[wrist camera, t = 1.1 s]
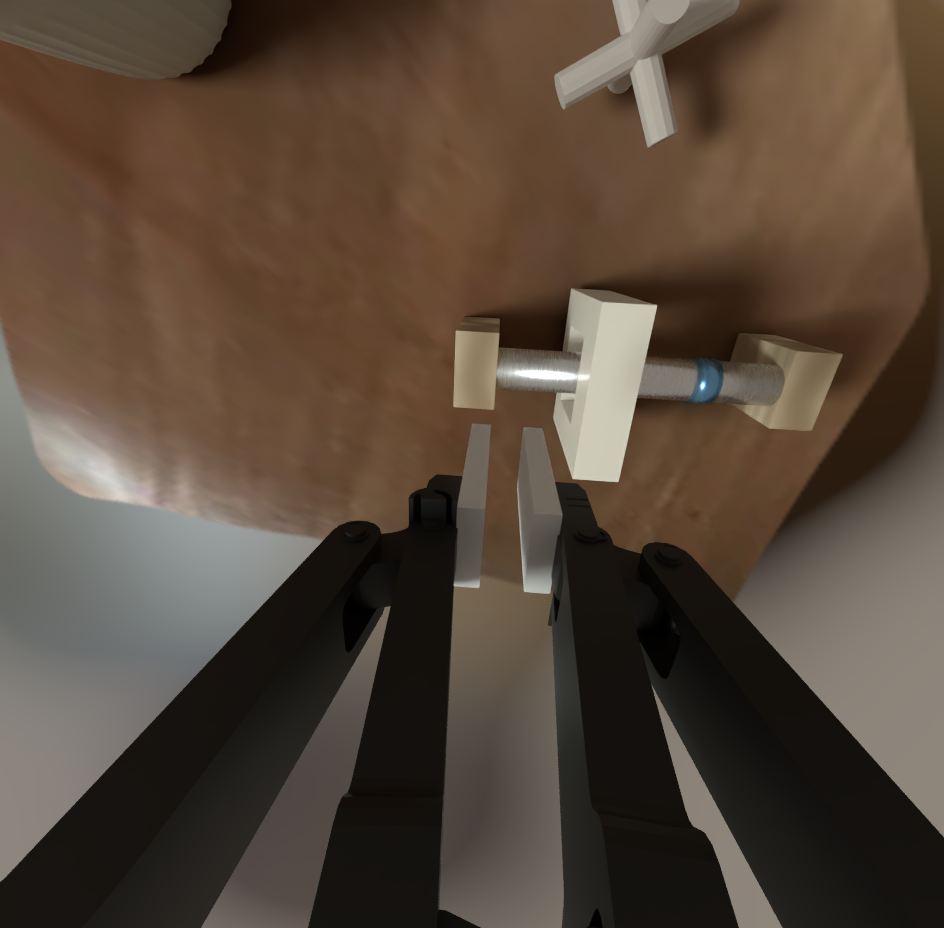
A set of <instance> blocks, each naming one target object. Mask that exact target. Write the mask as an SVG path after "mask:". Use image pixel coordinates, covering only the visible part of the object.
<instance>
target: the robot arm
mask: <svg viewBox="0 0 944 928" xmlns="http://www.w3.org/2000/svg"><path fill="white" fill-rule="evenodd" d="M490 430H491V425H484V424H472V428H471V433H470V439H469V444H468V450H467V455H466V461H465V466H464V472H463V476H451V475H438V474H437V475H436V476H434V477H433V478H432V479H431V480H429V482H428V485H427V488H424V489H420V490H417V491H415V492H414V493H412V494H411V495H410V497H409V527H408V528H406V529H404V530H401V531H398V532H393V533H386V534H381V531H380V528H379V527H378V526H377V525H375V524H374V523H371V522H368V521H351V522H347V523H345V524H342V525H339V526H338V527H337V528H335V529H334V530H333V531H332V532H331V533H330V534H329V535H328V536H327V537H326V538H325V539H324V540H323V542H322V543H321V544H320V545H319V546H318V547H317V548H316V549H315V550H314V551H313V552H312V553H311V554H310V555H309V557H307V558H306V560H305V561H304V562H303V563H302V564H301V565H300V566H299V567H298V568H297V569H296V570H295V571H294V572H293V573H292V574H291V575H290V576H289V578H288V579H287V580H286V581H285V582H284V583H283V584H282V585H281V586H280V587H279V588H278V589H277V590H276V591H275V593H274V594H273V595H272V596H271V597H270V598H269V599H268V600H267V601H266V602H265V603H264V604H263V605H262V606H261V607H260V608H259V609H258V610H257V612H256V613H255V614H254V615H253V616H252V617H251V618H250V619H249V620H248V621H247V622H246V623H245V624H244V625H243V626H242V627H241V628H240V629H239V631H238V632H237V633H236V634H235V635H234V636H233V637H232V638H231V639H230V640H229V641H228V642H227V643H226V644H225V645H224V646H223V648H222V649H221V650H220V651H219V652H218V653H217V654H216V655H215V656H214V657H213V658H212V659H211V660H210V661H209V662H208V663H207V664H206V666H205V667H204V668H203V669H202V670H201V671H200V672H199V673H198V674H197V675H196V676H195V677H194V678H193V679H192V680H191V681H190V683H189V684H188V685H187V686H186V687H185V688H184V689H183V690H182V691H181V692H180V693H179V694H178V695H177V696H176V697H175V698H174V700H173V701H172V702H171V703H170V704H169V705H168V706H167V707H166V708H165V709H164V710H163V711H162V712H161V713H160V714H159V715H158V717H156V719H155V720H154V721H153V722H152V723H151V724H150V725H149V726H148V727H147V728H146V729H145V730H144V731H143V732H142V733H141V734H140V735H139V737H138V738H137V739H136V740H135V741H134V742H133V743H132V744H131V745H130V746H129V747H128V748H127V749H126V750H125V751H124V753H123V754H122V755H121V756H120V757H119V758H118V759H117V760H116V761H115V762H114V763H113V764H112V765H111V766H110V767H109V768H108V769H107V770H106V772H105V773H104V774H103V775H102V776H101V777H100V778H99V779H98V780H97V781H96V782H95V783H94V784H93V785H92V786H91V787H90V788H89V790H88V791H87V792H86V793H85V794H84V795H83V796H82V797H81V798H80V799H79V800H78V801H77V802H76V803H75V805H73V807H72V808H71V809H70V810H69V811H68V812H67V813H66V814H65V815H64V816H63V817H62V818H61V819H60V820H59V821H58V822H57V823H56V825H55V826H54V827H53V828H52V829H51V830H50V831H49V832H48V833H47V834H46V835H45V836H44V837H43V838H42V840H40V842H39V843H38V844H37V845H36V846H35V847H34V848H33V849H32V850H31V851H30V852H29V853H28V854H27V855H26V856H25V857H24V858H23V860H22V861H21V862H20V863H19V864H18V865H17V866H16V867H15V868H14V869H13V870H12V871H11V872H10V873H9V874H8V875H7V877H6V878H5V879H3V880H2V881H1V882H0V928H201V927H202V925H203V923H204V921H205V920H206V918H207V916H208V915H209V913H210V911H211V909H212V908H213V906H214V904H215V902H216V901H217V899H218V897H219V896H220V894H221V892H222V890H223V889H224V887H225V885H226V883H227V882H228V880H229V878H230V876H231V875H232V873H233V871H234V869H235V868H236V866H237V864H238V863H239V861H240V859H241V858H242V856H243V854H244V852H245V851H246V849H247V847H248V845H249V844H250V842H251V840H252V838H253V837H254V835H255V833H256V831H257V830H258V828H259V826H260V825H261V823H262V821H263V819H264V818H265V816H266V814H267V812H268V811H269V809H270V807H271V806H272V804H273V802H274V800H275V799H276V797H277V795H278V794H279V792H280V790H281V788H282V786H283V785H284V783H285V781H286V780H287V778H288V776H289V774H290V773H291V771H292V769H293V768H294V766H295V764H296V762H297V761H298V759H299V757H300V756H301V754H302V752H303V750H304V748H305V747H306V745H307V743H308V742H309V740H310V738H311V737H312V735H313V733H314V731H315V729H316V728H317V726H318V724H319V723H320V721H321V719H322V717H323V716H324V714H325V712H326V710H327V708H328V707H329V705H330V704H331V702H332V700H333V698H334V697H335V695H336V693H337V691H338V690H339V688H340V686H341V685H342V683H343V681H344V679H345V678H346V676H347V674H348V672H349V671H350V669H351V667H352V666H353V664H354V662H355V660H356V659H357V657H358V655H359V654H360V652H361V650H362V648H363V647H364V645H365V643H366V641H367V640H368V638H369V636H370V635H371V633H372V631H373V629H374V628H375V626H376V624H377V622H378V621H379V619H380V617H381V615H382V614H383V611H384V607H387V606H391V607H390V612H389V617H388V621H387V625H386V630H385V634H384V639H383V643H382V648H381V652H380V657H379V661H378V666H377V670H376V674H375V679H374V683H373V688H372V692H371V697H370V701H369V706H368V710H367V715H366V719H365V724H364V728H363V733H362V737H361V742H360V746H359V750H358V755H357V759H356V764H355V769H354V773H353V778H352V781H351V785H350V788H349V790H348V793H346V794H345V795H344V796H342V798H341V801H340V803H339V805H338V809H337V812H336V815H335V819H334V822H333V826H332V830H331V834H330V839H329V843H328V847H327V851H326V855H325V860H324V864H323V868H322V872H321V876H320V880H319V885H318V889H317V893H316V898H315V901H314V905H313V910H312V915H311V918H310V922H309V926H308V928H480V927H478V926H476V925H474V924H472V923H470V922H468V921H466V920H464V919H462V918H460V917H458V916H456V915H454V914H452V913H450V912H448V911H446V910H439V900H440V898H439V897H440V877H441V855H442V854H441V853H442V833H443V811H444V789H445V768H446V746H447V745H446V744H447V724H448V723H447V722H448V701H449V680H450V658H451V656H450V655H451V636H452V613H453V592H454V586H461V587H473V588H479V586H480V572H481V558H482V544H483V531H484V517H485V503H486V488H487V474H488V459H489V444H490ZM517 491H518V507H519V522H520V537H521V553H522V568H523V583H524V592H533V593H534V592H535V593H546V594H550V589H551V583H552V584H553V590H554V592H553V598H552V604H551V610H550V616H549V622H548V625H549V626H552V634H553V655H554V676H555V677H554V678H555V700H556V723H557V745H558V768H559V789H560V813H561V832H562V833H561V835H562V855H563V856H562V858H563V880H564V907H563V920H562V928H739V927H738V924H737V920H736V917H735V914H734V910H733V907H732V904H731V900H730V897H729V894H728V891H727V888H726V884H725V881H724V877H723V874H722V871H721V868H720V864H719V862H718V859H717V856H716V854H715V851H714V848H713V846H712V844H711V842H710V841H709V839H708V838H707V836H706V834H705V833H704V832H703V831H701V830H699V829H697V828H695V827H693V826H692V824H691V822H690V821H689V819H688V816H687V813H686V811H685V807H684V803H683V799H682V796H681V792H680V789H679V785H678V781H677V777H676V774H675V770H674V767H673V763H672V759H671V755H670V752H669V748H668V744H667V740H666V737H665V734H664V730H663V726H662V722H661V718H660V715H659V711H658V707H657V704H656V700H655V696H654V693H653V689H652V686H653V688H654V689H655V691H656V693H657V695H658V697H659V699H660V700H661V703H662V704H663V706H664V708H665V710H666V712H667V714H668V715H669V717H670V719H671V721H672V723H673V725H674V727H675V729H676V730H677V732H678V734H679V736H680V738H681V740H682V742H683V743H684V745H685V747H686V749H687V751H688V753H689V755H690V756H691V758H692V760H693V762H694V764H695V766H696V768H697V769H698V771H699V773H700V775H701V777H702V779H703V781H704V782H705V784H706V786H707V788H708V790H709V792H710V794H711V795H712V797H713V799H714V801H715V803H716V805H717V807H718V809H719V810H720V812H721V814H722V816H723V818H724V820H725V822H726V823H727V825H728V827H729V829H730V831H731V833H732V834H733V836H734V838H735V840H736V842H737V844H738V846H739V847H740V849H741V851H742V853H743V855H744V857H745V859H746V861H747V862H748V864H749V866H750V868H751V870H752V872H753V874H754V875H755V877H756V879H757V881H758V883H759V885H760V887H761V888H762V890H763V892H764V894H765V896H766V898H767V900H768V901H769V903H770V905H771V907H772V909H773V911H774V913H775V914H776V916H777V918H778V920H779V922H780V924H781V926H782V927H783V928H944V837H943V836H942V835H941V834H940V833H939V831H938V830H937V829H936V828H935V827H934V826H933V825H932V824H931V823H930V822H929V820H928V819H927V818H926V817H925V816H924V815H923V814H922V812H921V811H920V810H919V809H918V808H917V807H916V806H915V805H914V804H913V802H912V801H911V800H910V799H909V798H908V797H907V796H906V795H905V794H904V793H903V791H902V790H901V789H900V788H899V787H898V786H897V785H896V784H895V782H894V781H893V780H892V779H891V778H890V777H889V776H888V775H887V773H886V772H885V771H884V770H883V769H882V768H881V767H880V766H879V765H878V764H877V762H876V761H875V760H874V759H873V758H872V757H871V756H870V755H869V753H868V752H867V751H866V750H865V749H864V748H863V747H862V746H861V745H860V743H859V742H858V741H857V740H856V739H855V738H854V737H853V736H852V734H851V733H850V732H849V731H848V730H847V729H846V728H845V727H844V726H843V724H842V723H841V722H840V721H839V720H838V719H837V718H836V717H835V716H834V714H833V713H832V712H831V711H830V710H829V709H828V708H827V707H826V705H824V703H823V702H822V701H821V700H820V699H819V698H818V697H817V695H816V694H815V693H814V692H813V691H812V690H811V689H810V688H809V687H808V685H807V684H806V683H805V682H804V681H803V680H802V679H801V678H800V677H799V676H798V674H797V673H796V672H795V671H794V670H793V669H792V668H791V666H790V665H789V664H788V663H787V662H786V661H785V660H784V659H783V658H782V656H780V654H779V653H778V652H777V651H776V650H775V649H774V648H773V647H772V645H771V644H770V643H769V642H768V641H767V640H766V639H765V638H764V636H763V635H762V634H761V633H760V632H759V631H758V630H757V629H756V627H755V626H754V625H753V624H752V623H751V622H750V621H749V620H748V619H747V617H746V616H745V615H744V614H743V613H742V612H741V611H740V610H739V609H738V607H737V606H736V605H735V604H734V603H733V602H732V601H731V600H730V598H729V597H728V596H727V595H726V594H725V593H724V592H723V591H722V590H721V588H720V587H719V586H718V585H717V584H716V583H715V582H714V581H713V580H712V578H711V577H710V576H709V575H708V574H707V573H706V572H705V571H704V570H703V568H702V567H701V566H700V565H699V564H698V563H697V562H696V561H695V559H694V558H693V557H692V556H691V555H689V554H688V553H687V552H686V551H684V550H682V549H680V548H678V547H677V546H674V545H672V544H671V545H670V544H668V543H659V542H654V543H648V544H647V545H645V546H644V547H643V549H642V553H641V554H640V553H636V552H633V551H629V550H625V549H622V548H619V547H617V546H615V545H613V542H612V539H611V537H610V535H609V534H608V533H607V532H606V531H605V530H603V529H602V528H599V527H598V525H597V522H596V519H595V516H594V514H593V511H592V508H591V505H590V502H589V501H588V497H587V494H586V491H585V490H584V489H582V488H581V487H580V486H579V485H578V484H576V483H562V482H555V481H554V476H553V472H552V468H551V463H550V459H549V455H548V451H547V446H546V442H545V438H544V434H543V429H542V428H528V427H523V437H522V446H521V455H520V465H519V474H518V483H517ZM651 684H652V685H651Z"/></svg>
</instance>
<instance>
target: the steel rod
mask: <svg viewBox="0 0 944 928" xmlns="http://www.w3.org/2000/svg"><path fill="white" fill-rule="evenodd" d="M581 355H582V353H581V352H565V351H549V350H533V349H517V348H501V347H498V359H497V372H496V386H495V389H511V390H526V391H541V392H556V393H572V394H576V387H577V381H578V375H579V368H580V362H581ZM784 383H785V376H784V372H783V369H782V368H781V367H780V366H779V365H774V364H758V363H742V362H726V361H720V360H718V359H712V358H696V357H694V358H692V359H678V358H661V357H646V359H645V364H644V368H643V373H642V377H641V382H640V386H639V391H638V395H637V398H648V399H663V400H678V401H684V402H685V403H693V404H712V403H724V404H739V405H755V406H771V405H773V404H774V403H776V401H777V400H778V399H779V398H780V396H781V394H782V392H783V388H784Z"/></svg>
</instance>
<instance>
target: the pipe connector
mask: <svg viewBox="0 0 944 928" xmlns="http://www.w3.org/2000/svg"><path fill="white" fill-rule="evenodd" d="M612 1H613V5H614V10H615V14H616V18H617V22H618V26H619V30H620V35H621V36H620V37H619V38H617V39H615V40H613V41H612V42H610V43H608V44H607V45H605V46H603V47H601V48H600V49H598V50H596V51H595V52H593V53H591V54H589V55H588V56H586V57H584V58H583V59H581V60H579V61H577V62H576V63H574V64H572V65H570V66H569V67H567V68H565V69H564V70H562V71H560V72H558V73H557V74H555V86H556V91H557V95H558V98H559V101H560V104H561V106H562V108H563V109H566V108H568V107H569V106H571V105H573V104H575V103H577V102H578V101H580V100H582V99H584V98H585V97H587V96H589V95H591V94H593V93H594V92H596V91H598V90H600V89H602V88H603V87H605V86H608V88H609V89H610V91H611V92H613V93H615V94H621V93H624V92H625V91H626V90H628V88H629V87H630V86H631V85H633V89H634V93H635V97H636V101H637V105H638V110H639V114H640V118H641V122H642V126H643V130H644V135H645V139H646V143H647V147H648V148H650V147H652V146H654V145H656V144H658V143H660V142H662V141H664V140H665V139H667V138H669V137H671V136H673V135H674V134H676V133H677V132H678V129H677V124H676V120H675V115H674V110H673V106H672V101H671V96H670V92H669V87H668V82H667V78H666V73H665V68H664V64H663V59H662V54H664V53H666V52H668V51H669V50H671V49H673V48H675V47H677V46H678V45H680V44H682V43H684V42H686V41H687V40H689V39H691V38H693V37H694V36H696V35H698V34H700V33H702V32H703V31H705V30H707V29H709V28H711V27H712V26H714V25H716V24H718V23H719V22H721V21H723V20H725V19H727V18H728V17H730V16H732V15H734V14H735V13H736V11H737V9H738V6H739V0H612Z"/></svg>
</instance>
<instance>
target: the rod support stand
mask: <svg viewBox="0 0 944 928" xmlns="http://www.w3.org/2000/svg"><path fill="white" fill-rule="evenodd" d="M499 331H500V319H499V318H482V317H464V319H463V320H462V322H461V323H460V325H459V327H458V328H457V330H456V345H455V375H454V406H453V407H462V408H476V409H491V410H494V399H495V386H496V372H497V359H498V346H499ZM842 356H843V354H841V353H837V352H834V351H830V350H826V349H823V348H819V347H816V346H812V345H809V344H805V343H802V342H798V341H795V340H791V339H787V338H784V337H780V336H777V335H766V334H749V333H738V337H737V340H736V343H735V347H734V350H733V353H732V356H731V360H730V362H742V363H758V364H774V365H779V366H780V367H781V368H782V369H783V372H784V376H785V383H784V388H783V392H782V394H781V396H780V398H779V399H778V400H777V401H776V403H774V404H773V405H771V406H755V405H739V404H732V405H733V406H735V407H737V408H738V409H740V410H741V411H743V412H744V413H746V414H748V415H749V416H751V417H752V418H754V419H755V420H757V421H759V422H760V423H762V424H763V425H765V426H766V427H768V428H773V429H788V430H803V431H812V428H813V426H814V424H815V421H816V419H817V416H818V414H819V411H820V409H821V407H822V404H823V402H824V399H825V397H826V395H827V392H828V390H829V387H830V385H831V382H832V380H833V378H834V375H835V373H836V370H837V368H838V366H839V363H840V361H841V358H842Z"/></svg>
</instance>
